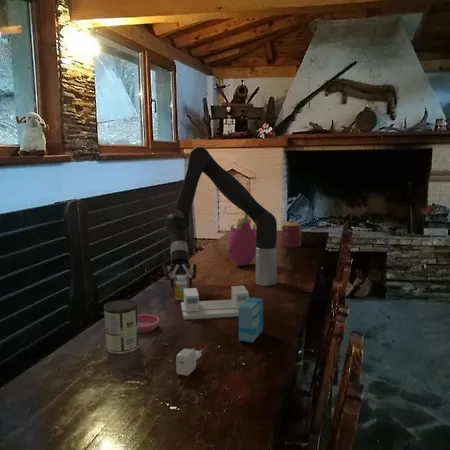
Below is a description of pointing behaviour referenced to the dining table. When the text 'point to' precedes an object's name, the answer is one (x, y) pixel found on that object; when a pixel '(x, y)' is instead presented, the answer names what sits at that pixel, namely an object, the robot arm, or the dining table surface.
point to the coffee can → (121, 326)
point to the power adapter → (187, 361)
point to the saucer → (147, 323)
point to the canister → (291, 234)
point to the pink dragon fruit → (242, 242)
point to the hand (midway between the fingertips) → (181, 287)
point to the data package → (250, 319)
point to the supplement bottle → (180, 287)
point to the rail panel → (213, 304)
